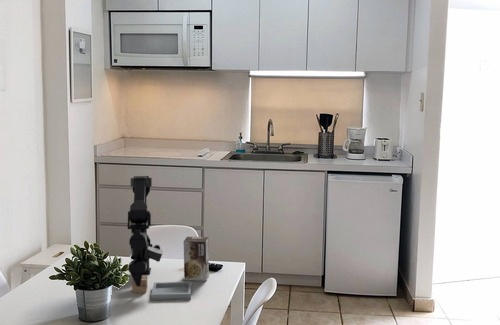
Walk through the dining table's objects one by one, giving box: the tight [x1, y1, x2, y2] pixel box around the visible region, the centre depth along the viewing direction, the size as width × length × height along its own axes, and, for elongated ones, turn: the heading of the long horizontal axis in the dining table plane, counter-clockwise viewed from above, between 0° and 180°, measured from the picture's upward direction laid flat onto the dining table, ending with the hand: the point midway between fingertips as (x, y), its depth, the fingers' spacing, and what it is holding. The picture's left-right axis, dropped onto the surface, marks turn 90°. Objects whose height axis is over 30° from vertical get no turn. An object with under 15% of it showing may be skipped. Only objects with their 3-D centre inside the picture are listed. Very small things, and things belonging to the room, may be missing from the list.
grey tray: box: [150, 281, 192, 301], centre depth 209 cm, size 12×14×2 cm
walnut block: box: [131, 274, 148, 294], centre depth 211 cm, size 5×5×5 cm
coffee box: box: [183, 236, 210, 282], centre depth 224 cm, size 9×6×16 cm
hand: (139, 281), depth 211 cm, fingers open, 9 cm apart
